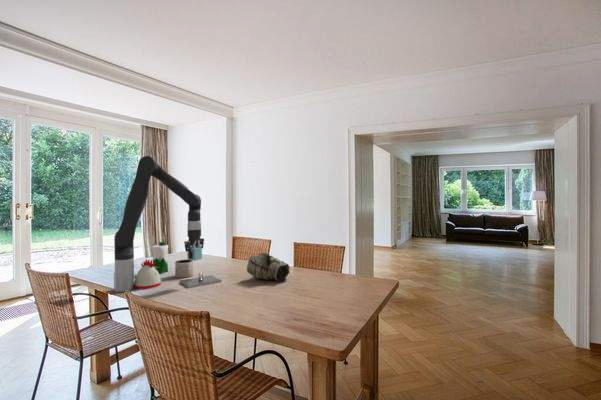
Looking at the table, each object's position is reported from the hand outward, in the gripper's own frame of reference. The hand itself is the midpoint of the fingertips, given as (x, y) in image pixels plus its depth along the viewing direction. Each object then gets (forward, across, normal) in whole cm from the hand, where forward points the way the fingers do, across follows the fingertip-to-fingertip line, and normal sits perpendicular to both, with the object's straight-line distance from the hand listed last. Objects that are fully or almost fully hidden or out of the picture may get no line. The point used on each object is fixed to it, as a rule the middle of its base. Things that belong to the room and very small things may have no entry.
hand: (194, 257), depth 183 cm
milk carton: (+16, -13, -42) cm, 47 cm away
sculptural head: (+17, -29, +32) cm, 47 cm away
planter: (+16, -12, -20) cm, 29 cm away
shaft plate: (+16, -5, -1) cm, 17 cm away
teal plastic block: (+1, 0, 0) cm, 1 cm away
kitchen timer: (+16, +12, -24) cm, 31 cm away
